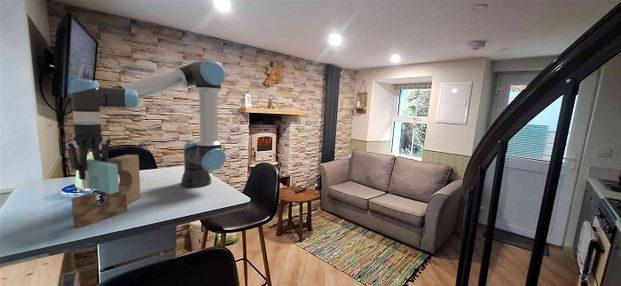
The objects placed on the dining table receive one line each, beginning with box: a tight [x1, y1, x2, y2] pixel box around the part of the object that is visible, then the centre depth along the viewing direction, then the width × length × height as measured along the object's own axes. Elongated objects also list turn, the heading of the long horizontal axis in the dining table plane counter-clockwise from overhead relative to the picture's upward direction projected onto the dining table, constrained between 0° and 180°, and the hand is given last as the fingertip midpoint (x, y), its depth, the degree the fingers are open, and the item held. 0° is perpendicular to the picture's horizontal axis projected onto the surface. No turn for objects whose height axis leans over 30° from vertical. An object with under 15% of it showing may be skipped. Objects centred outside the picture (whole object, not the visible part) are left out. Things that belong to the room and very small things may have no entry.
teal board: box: [81, 158, 119, 194], centre depth 93 cm, size 16×3×10 cm, turn 68°
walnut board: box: [71, 186, 128, 229], centre depth 95 cm, size 16×3×10 cm, turn 158°
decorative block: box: [108, 154, 141, 206], centre depth 110 cm, size 11×6×20 cm, turn 179°
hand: (92, 186), depth 96 cm, fingers closed on teal board, 3 cm apart
